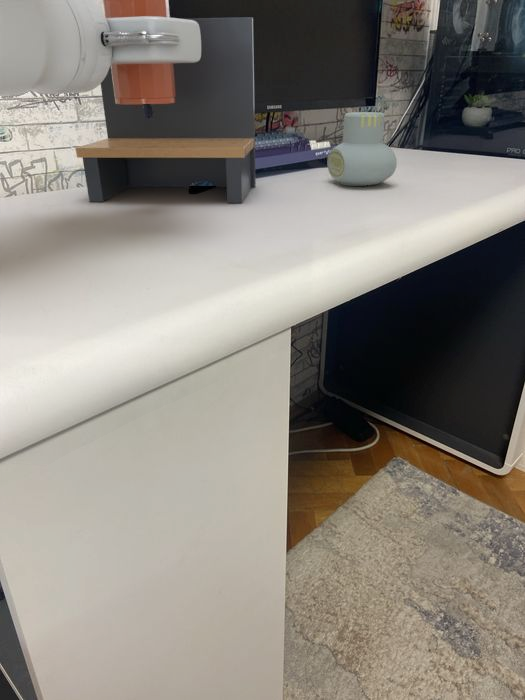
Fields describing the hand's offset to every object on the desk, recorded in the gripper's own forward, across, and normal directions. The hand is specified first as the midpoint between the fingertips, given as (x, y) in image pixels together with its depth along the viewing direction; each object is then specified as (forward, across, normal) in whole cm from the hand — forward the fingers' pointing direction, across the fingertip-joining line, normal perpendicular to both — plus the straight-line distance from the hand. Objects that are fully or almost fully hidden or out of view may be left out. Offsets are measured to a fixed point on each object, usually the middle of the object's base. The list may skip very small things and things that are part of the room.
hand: (144, 46), depth 61 cm
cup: (-1, 0, +6) cm, 6 cm away
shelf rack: (+8, +2, +18) cm, 20 cm away
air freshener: (+25, -21, +18) cm, 37 cm away
